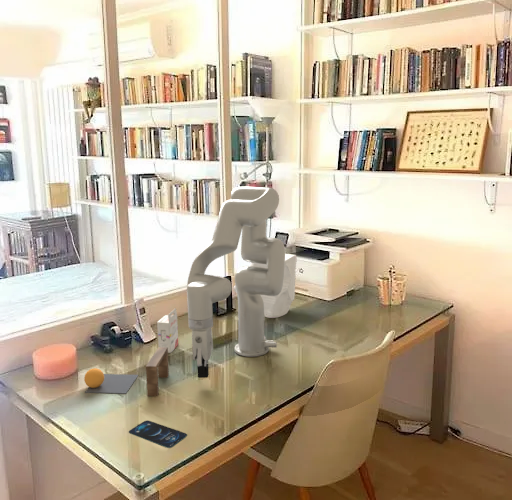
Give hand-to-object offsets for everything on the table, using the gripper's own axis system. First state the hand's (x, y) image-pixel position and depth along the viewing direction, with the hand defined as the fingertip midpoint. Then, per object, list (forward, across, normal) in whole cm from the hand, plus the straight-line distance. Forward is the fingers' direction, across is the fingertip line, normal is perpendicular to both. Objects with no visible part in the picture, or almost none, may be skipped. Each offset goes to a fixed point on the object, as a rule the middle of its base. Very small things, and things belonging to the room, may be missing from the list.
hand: (203, 376), depth 170 cm
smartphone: (+3, -29, +7) cm, 30 cm away
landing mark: (+3, -1, +29) cm, 30 cm away
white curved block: (+6, +77, -17) cm, 79 cm away
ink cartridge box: (+4, +29, +18) cm, 35 cm away
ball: (0, -3, +34) cm, 34 cm away
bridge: (+3, -1, +14) cm, 15 cm away
